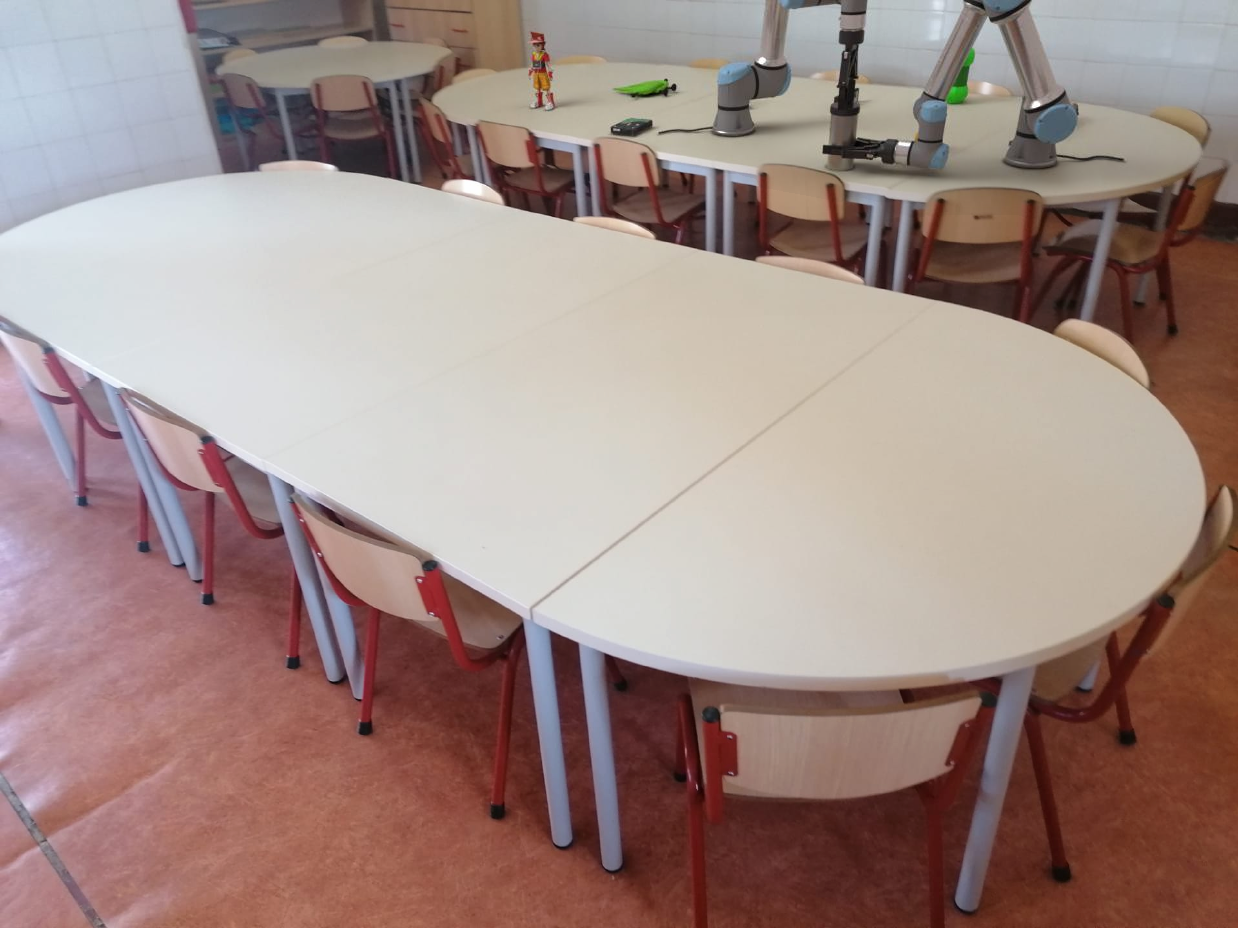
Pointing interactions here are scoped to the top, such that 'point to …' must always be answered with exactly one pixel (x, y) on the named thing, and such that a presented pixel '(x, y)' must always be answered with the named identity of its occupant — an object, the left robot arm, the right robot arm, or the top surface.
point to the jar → (842, 140)
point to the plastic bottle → (961, 81)
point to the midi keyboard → (854, 96)
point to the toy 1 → (541, 71)
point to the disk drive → (631, 126)
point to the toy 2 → (648, 88)
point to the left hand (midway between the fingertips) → (845, 105)
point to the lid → (851, 110)
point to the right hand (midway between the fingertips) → (827, 145)
